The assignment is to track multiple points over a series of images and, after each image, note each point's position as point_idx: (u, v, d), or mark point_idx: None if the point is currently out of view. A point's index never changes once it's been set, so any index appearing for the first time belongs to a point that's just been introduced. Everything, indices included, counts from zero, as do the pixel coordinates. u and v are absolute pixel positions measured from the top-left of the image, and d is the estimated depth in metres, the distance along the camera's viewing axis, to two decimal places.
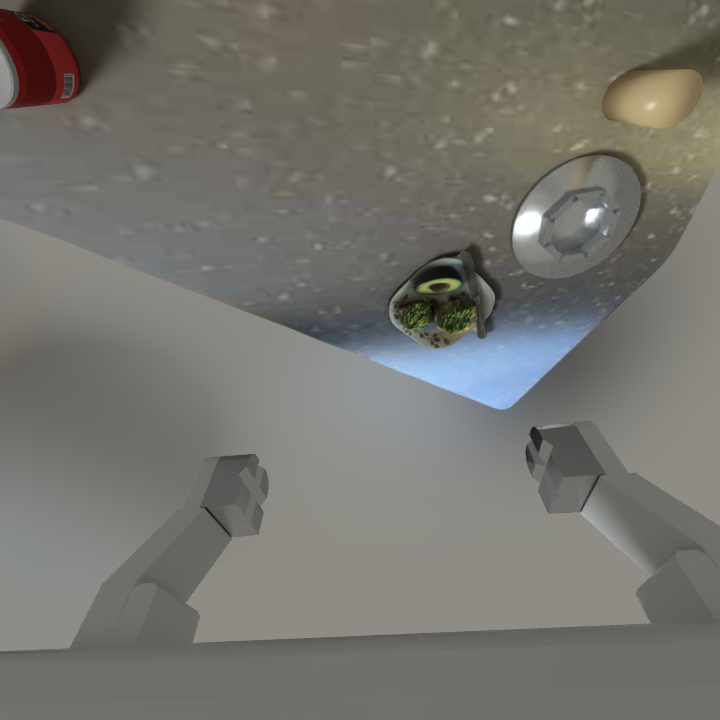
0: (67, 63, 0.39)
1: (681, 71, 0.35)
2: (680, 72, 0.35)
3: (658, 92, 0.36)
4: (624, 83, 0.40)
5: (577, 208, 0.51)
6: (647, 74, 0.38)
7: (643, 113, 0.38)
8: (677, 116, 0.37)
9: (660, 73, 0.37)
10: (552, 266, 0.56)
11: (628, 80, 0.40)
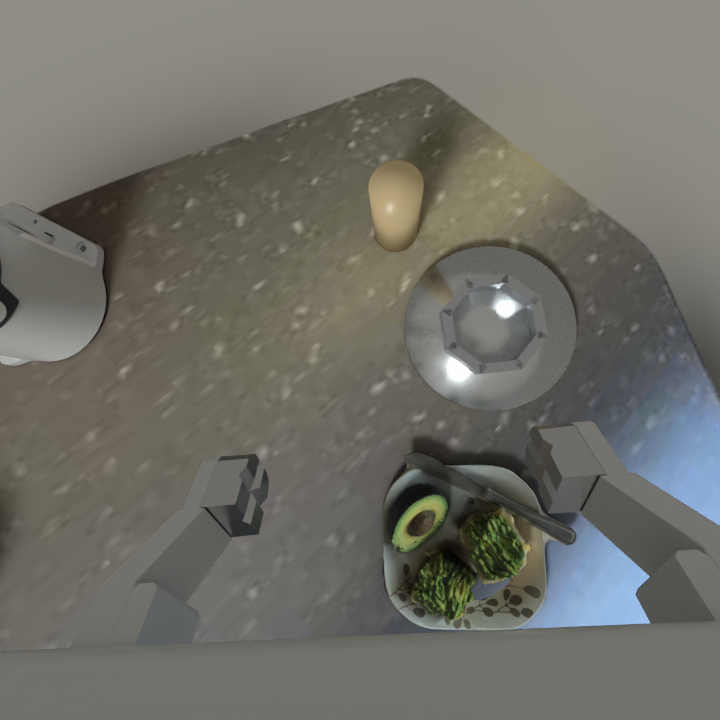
0: None
1: (373, 174, 0.32)
2: (373, 175, 0.32)
3: (374, 197, 0.31)
4: (373, 225, 0.38)
5: (471, 314, 0.37)
6: None
7: (387, 215, 0.32)
8: (415, 187, 0.31)
9: None
10: (529, 378, 0.36)
11: None
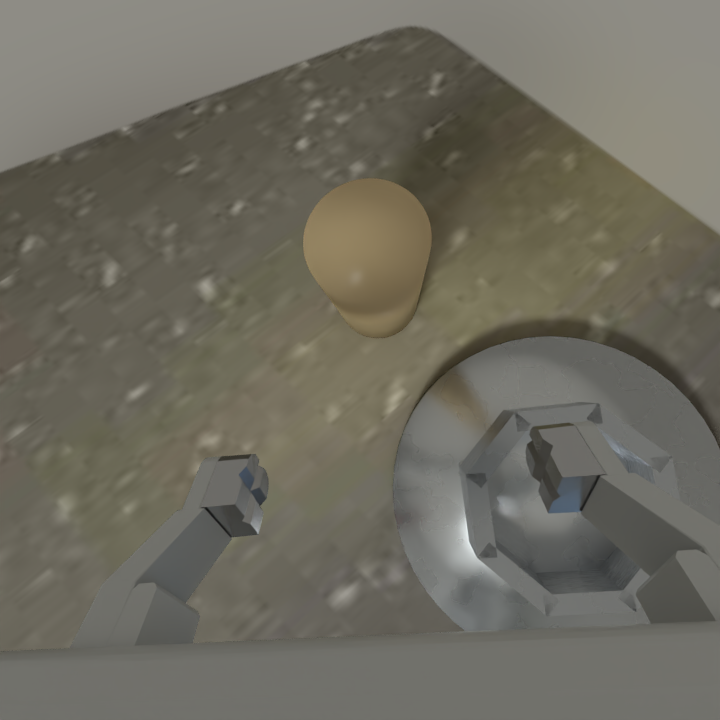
0: None
1: (314, 211, 0.14)
2: (314, 213, 0.14)
3: (315, 264, 0.13)
4: None
5: (520, 470, 0.19)
6: None
7: (347, 304, 0.14)
8: (411, 244, 0.13)
9: None
10: (639, 606, 0.18)
11: None
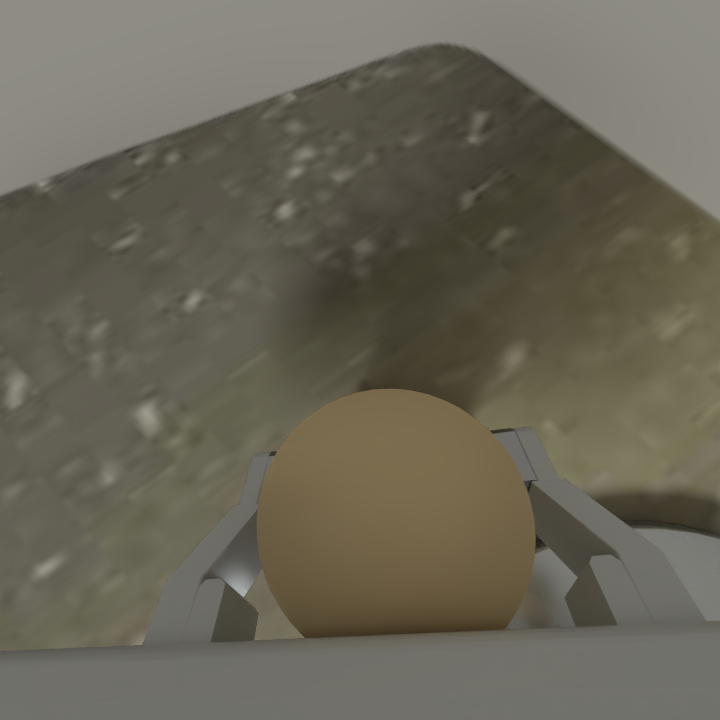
0: None
1: (280, 453, 0.07)
2: (281, 458, 0.07)
3: (281, 575, 0.06)
4: None
5: None
6: None
7: None
8: (490, 549, 0.06)
9: None
10: None
11: None
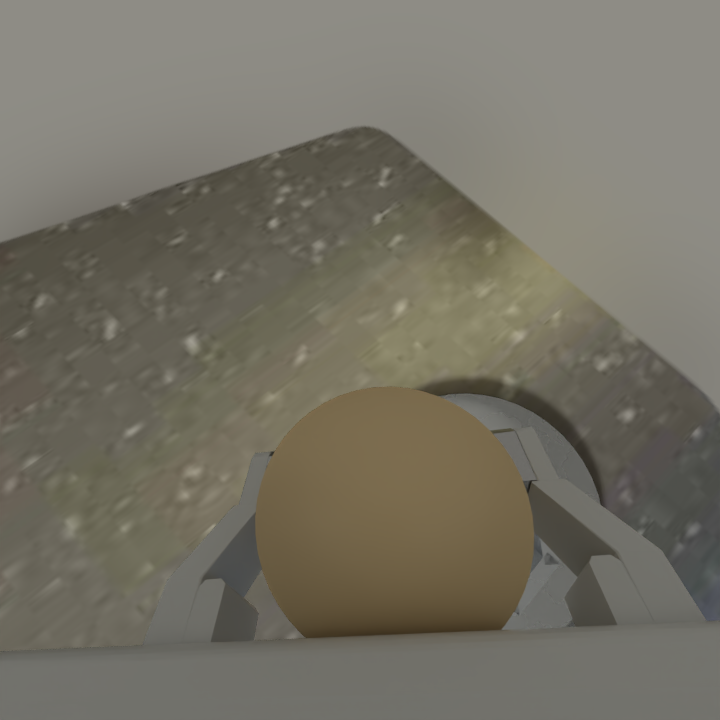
0: None
1: (278, 451, 0.07)
2: (279, 456, 0.07)
3: (280, 572, 0.06)
4: None
5: None
6: None
7: None
8: (488, 547, 0.06)
9: None
10: (530, 611, 0.23)
11: None
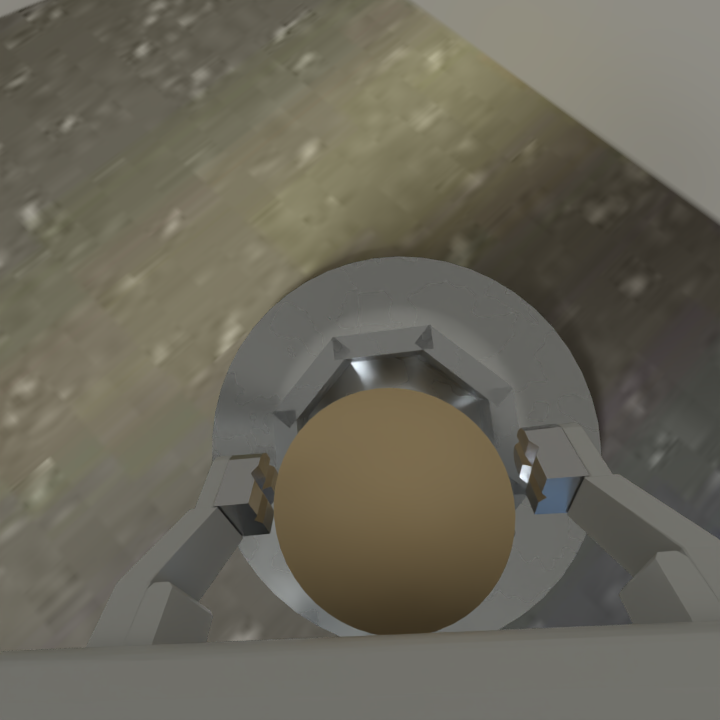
0: None
1: (294, 444, 0.07)
2: (294, 448, 0.07)
3: (296, 549, 0.07)
4: None
5: None
6: None
7: None
8: (476, 526, 0.07)
9: None
10: None
11: None
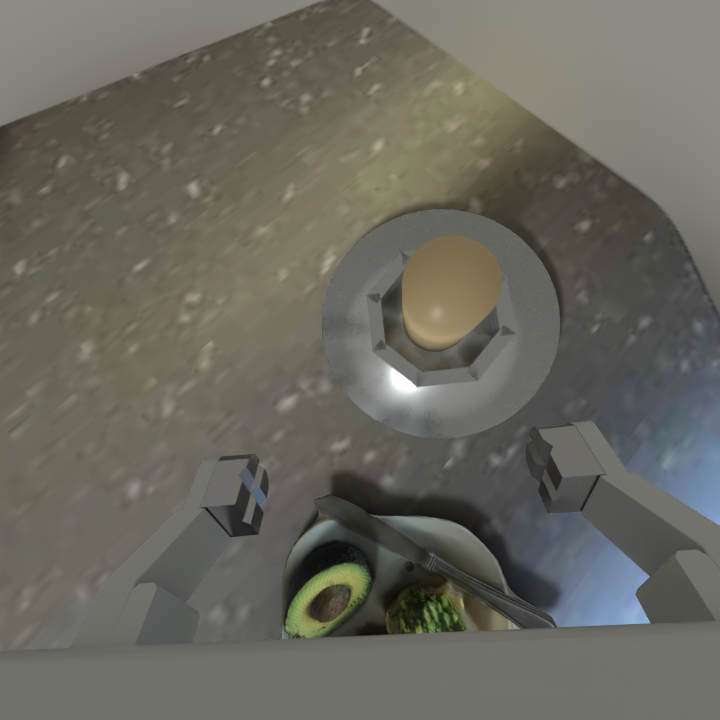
0: None
1: (410, 260, 0.18)
2: (410, 261, 0.18)
3: (412, 300, 0.18)
4: (403, 319, 0.24)
5: None
6: None
7: (434, 330, 0.18)
8: (486, 286, 0.17)
9: None
10: (492, 393, 0.25)
11: None
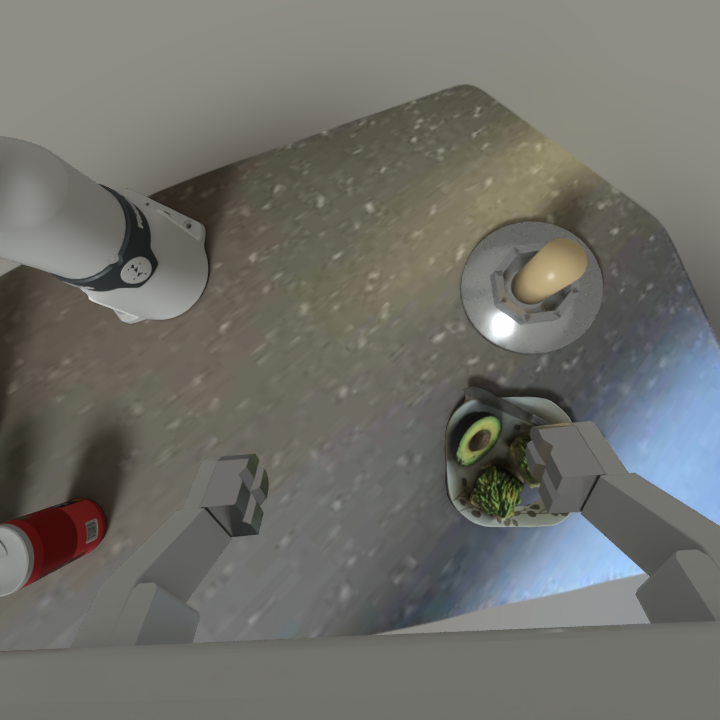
0: (89, 514, 0.48)
1: (541, 250, 0.37)
2: (542, 251, 0.37)
3: (543, 270, 0.37)
4: (518, 284, 0.43)
5: None
6: (524, 269, 0.41)
7: (552, 284, 0.38)
8: (579, 262, 0.37)
9: (531, 262, 0.39)
10: (564, 327, 0.45)
11: (518, 281, 0.43)
